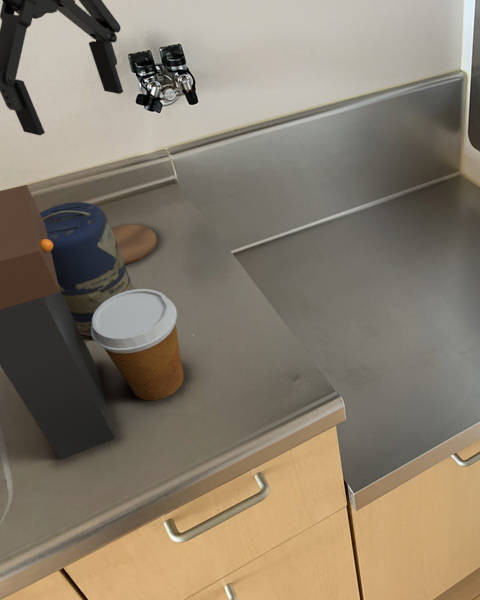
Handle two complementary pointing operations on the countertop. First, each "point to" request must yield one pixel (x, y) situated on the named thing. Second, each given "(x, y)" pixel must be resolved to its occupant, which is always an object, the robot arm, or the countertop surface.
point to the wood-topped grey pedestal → (45, 335)
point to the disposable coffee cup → (141, 341)
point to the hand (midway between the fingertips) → (76, 111)
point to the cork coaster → (134, 241)
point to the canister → (85, 259)
